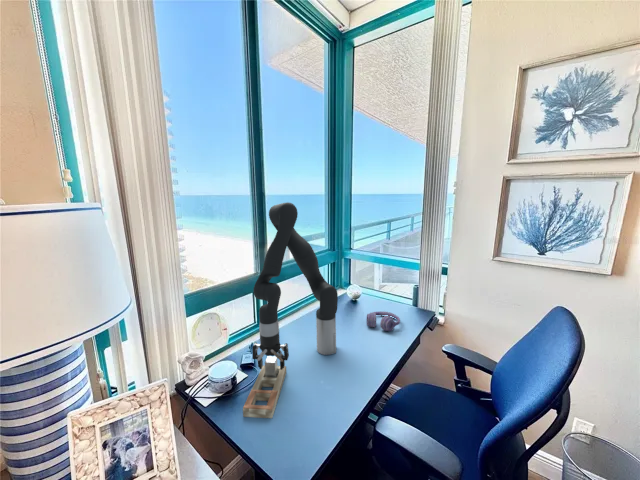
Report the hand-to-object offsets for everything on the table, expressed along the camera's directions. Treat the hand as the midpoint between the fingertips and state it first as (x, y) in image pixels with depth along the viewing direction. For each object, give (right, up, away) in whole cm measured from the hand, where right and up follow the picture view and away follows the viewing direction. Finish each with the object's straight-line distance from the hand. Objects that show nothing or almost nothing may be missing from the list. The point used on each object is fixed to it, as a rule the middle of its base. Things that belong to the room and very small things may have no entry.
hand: (271, 368), depth 105 cm
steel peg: (0, -5, +1) cm, 5 cm away
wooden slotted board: (0, -6, -6) cm, 9 cm away
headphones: (+56, +3, +45) cm, 72 cm away
